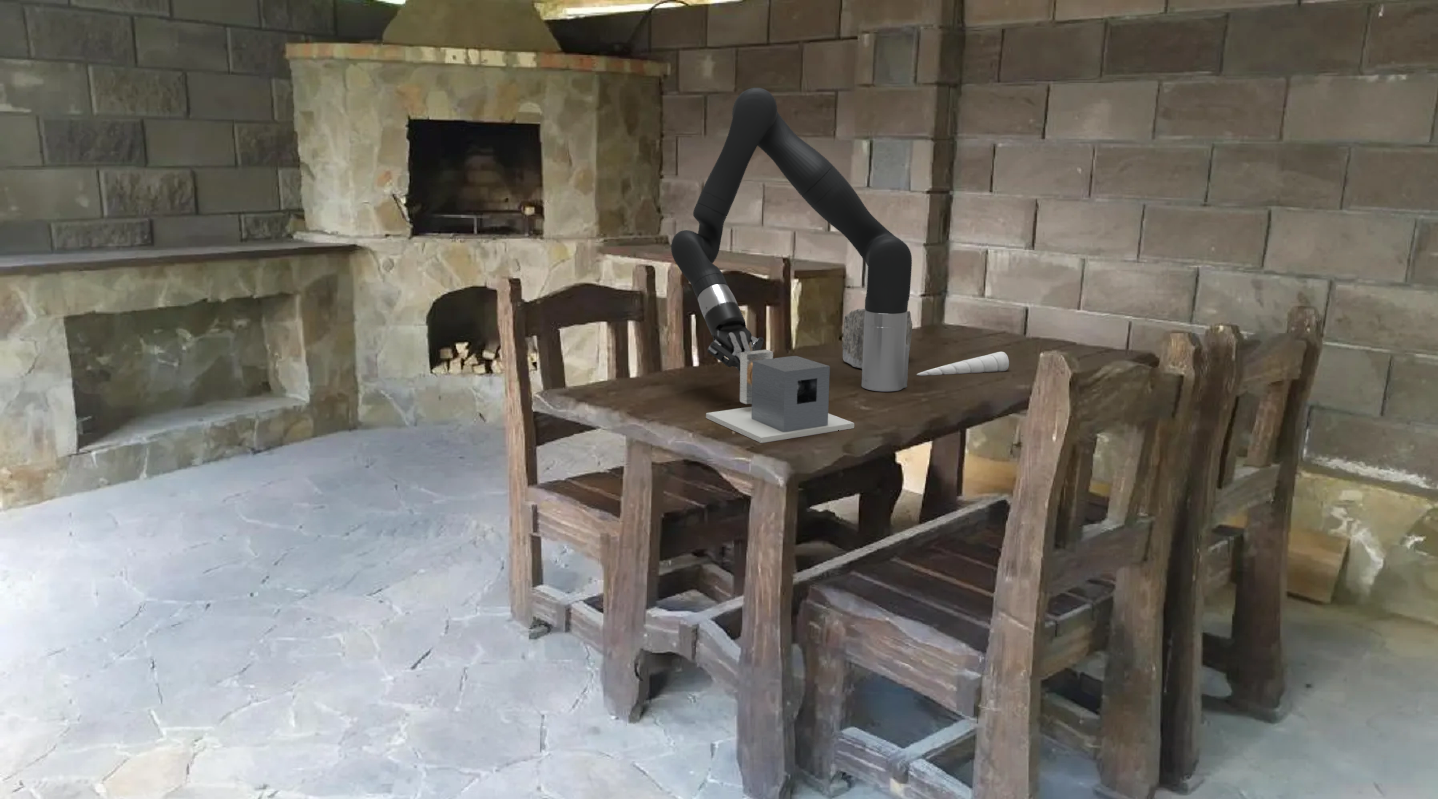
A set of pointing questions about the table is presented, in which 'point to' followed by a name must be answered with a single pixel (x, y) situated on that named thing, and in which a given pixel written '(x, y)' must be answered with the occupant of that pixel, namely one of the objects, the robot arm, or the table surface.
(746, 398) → the shaft
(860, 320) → the petrified wood
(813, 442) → the table surface
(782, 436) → the base plate
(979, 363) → the unicorn horn
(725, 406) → the table surface
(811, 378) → the block
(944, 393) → the table surface
